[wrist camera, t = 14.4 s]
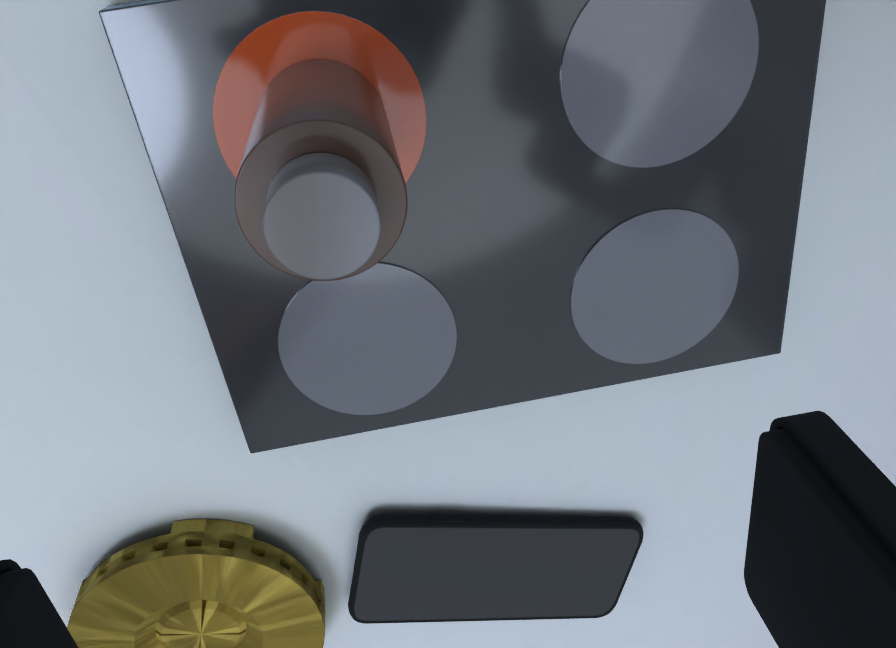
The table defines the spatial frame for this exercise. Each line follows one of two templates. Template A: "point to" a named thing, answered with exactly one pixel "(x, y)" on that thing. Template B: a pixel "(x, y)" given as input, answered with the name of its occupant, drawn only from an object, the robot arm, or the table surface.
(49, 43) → the table surface
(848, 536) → the robot arm
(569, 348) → the hob
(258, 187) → the pepper mill
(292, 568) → the gold round disc
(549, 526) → the smartphone
